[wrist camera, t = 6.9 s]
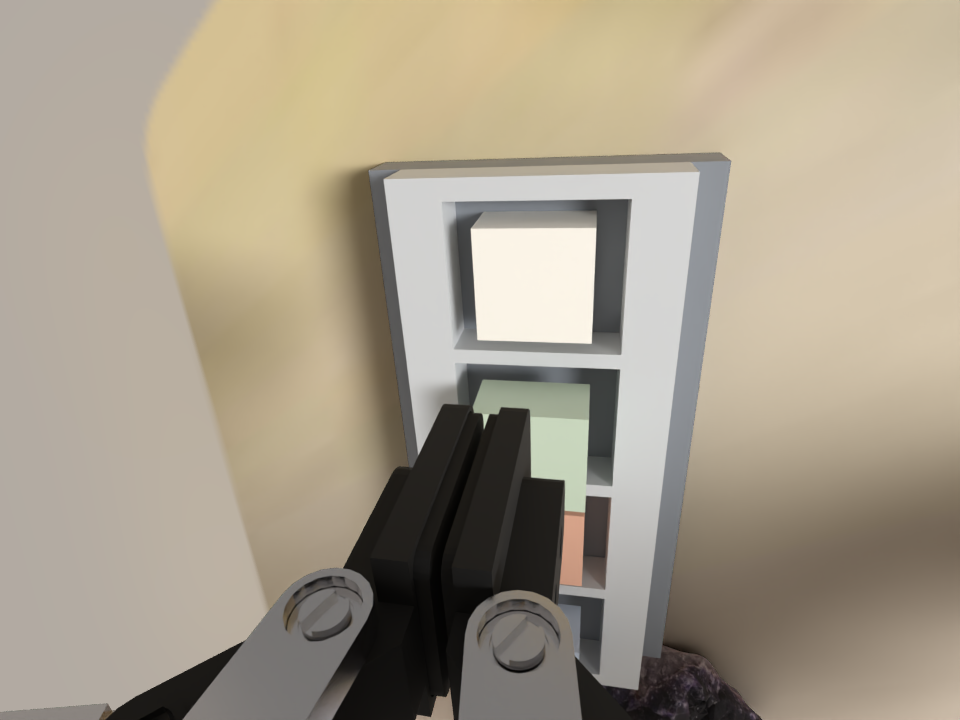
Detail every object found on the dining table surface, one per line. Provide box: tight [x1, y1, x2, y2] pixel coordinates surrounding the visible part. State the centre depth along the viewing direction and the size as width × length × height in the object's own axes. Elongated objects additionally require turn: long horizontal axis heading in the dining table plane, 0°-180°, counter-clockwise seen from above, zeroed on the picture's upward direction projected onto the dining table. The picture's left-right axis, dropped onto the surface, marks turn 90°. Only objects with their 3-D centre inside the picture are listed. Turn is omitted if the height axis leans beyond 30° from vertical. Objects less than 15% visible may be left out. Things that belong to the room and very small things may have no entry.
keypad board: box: [368, 153, 731, 690], centre depth 26 cm, size 13×26×4 cm, turn 3°
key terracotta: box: [560, 511, 585, 586], centre depth 27 cm, size 4×4×2 cm
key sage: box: [473, 380, 590, 513], centre depth 22 cm, size 4×4×2 cm
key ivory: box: [471, 210, 597, 344], centre depth 21 cm, size 4×4×2 cm
